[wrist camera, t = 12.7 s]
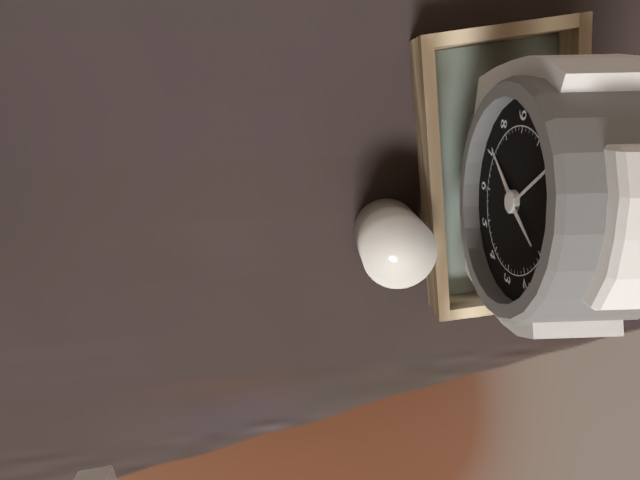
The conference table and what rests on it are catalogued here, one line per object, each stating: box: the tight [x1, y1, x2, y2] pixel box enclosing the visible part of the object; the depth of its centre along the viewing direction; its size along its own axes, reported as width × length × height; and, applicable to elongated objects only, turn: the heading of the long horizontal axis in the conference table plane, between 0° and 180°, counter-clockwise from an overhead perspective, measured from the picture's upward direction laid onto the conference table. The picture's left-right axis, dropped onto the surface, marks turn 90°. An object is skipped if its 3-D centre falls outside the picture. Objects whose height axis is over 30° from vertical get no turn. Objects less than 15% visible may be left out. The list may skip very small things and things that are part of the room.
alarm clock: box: [459, 54, 640, 339], centre depth 32 cm, size 18×8×20 cm, turn 1°
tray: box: [409, 11, 593, 322], centre depth 41 cm, size 13×24×4 cm, turn 8°
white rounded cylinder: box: [353, 198, 437, 289], centre depth 41 cm, size 6×6×7 cm
